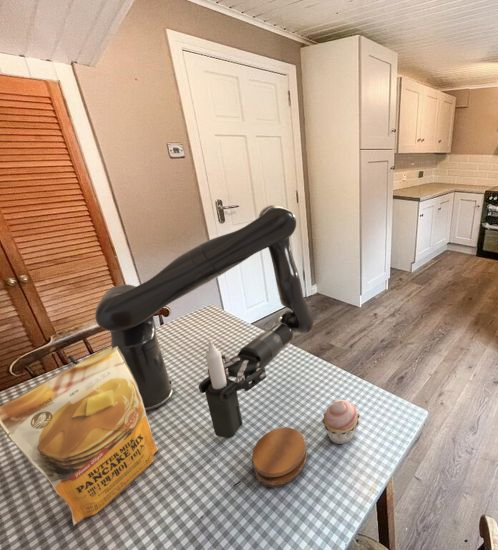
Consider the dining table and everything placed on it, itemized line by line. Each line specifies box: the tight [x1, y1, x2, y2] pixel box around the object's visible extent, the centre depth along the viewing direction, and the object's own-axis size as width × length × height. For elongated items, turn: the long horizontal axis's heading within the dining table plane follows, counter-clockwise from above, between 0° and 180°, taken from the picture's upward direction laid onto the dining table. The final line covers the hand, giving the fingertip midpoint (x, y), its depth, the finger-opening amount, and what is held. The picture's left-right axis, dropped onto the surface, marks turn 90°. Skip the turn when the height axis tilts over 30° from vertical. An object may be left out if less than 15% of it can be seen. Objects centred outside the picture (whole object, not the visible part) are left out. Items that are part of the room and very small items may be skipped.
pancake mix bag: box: [0, 345, 159, 526], centre depth 57 cm, size 7×19×28 cm, turn 160°
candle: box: [204, 340, 244, 439], centre depth 69 cm, size 5×5×25 cm
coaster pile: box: [251, 426, 308, 489], centre depth 66 cm, size 12×11×4 cm
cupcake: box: [321, 399, 361, 445], centre depth 72 cm, size 9×9×10 cm
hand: (211, 393), depth 66 cm, fingers closed on candle, 5 cm apart
